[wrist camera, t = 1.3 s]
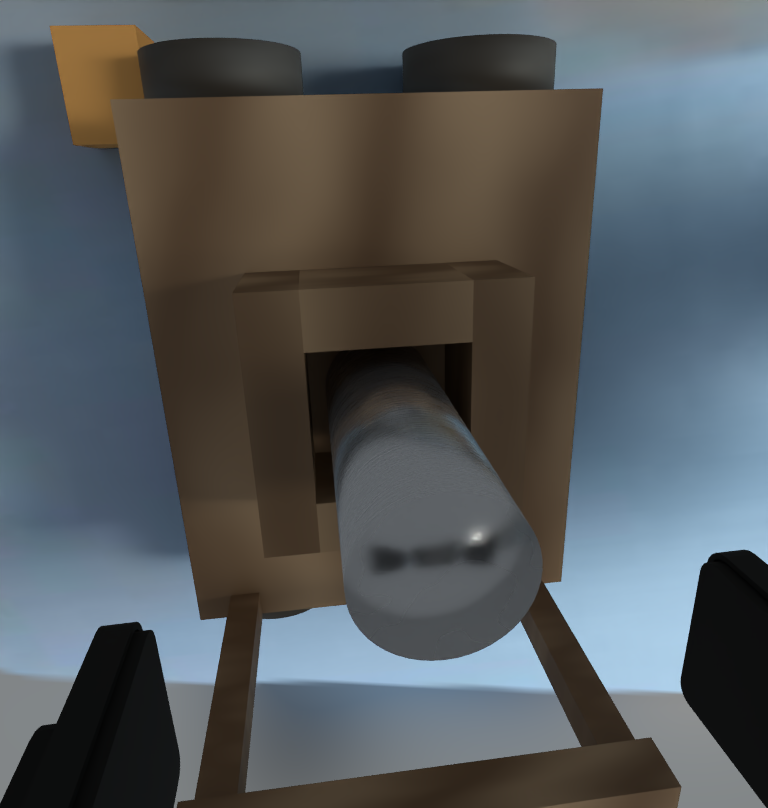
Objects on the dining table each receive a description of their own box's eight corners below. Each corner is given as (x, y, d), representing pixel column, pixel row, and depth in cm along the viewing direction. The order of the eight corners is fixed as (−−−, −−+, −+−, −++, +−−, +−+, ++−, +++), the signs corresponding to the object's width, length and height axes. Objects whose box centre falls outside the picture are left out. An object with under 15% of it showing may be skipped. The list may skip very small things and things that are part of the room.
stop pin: (429, 331, 23) (548, 482, 12) (429, 429, 24) (536, 649, 13) (321, 338, 22) (338, 501, 11) (328, 437, 24) (350, 671, 13)
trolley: (525, 62, 27) (923, -143, 10) (505, 525, 36) (697, 860, 18) (157, 68, 26) (-164, -165, 8) (228, 551, 34) (147, 947, 17)
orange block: (153, 41, 25) (134, 24, 22) (169, 146, 27) (153, 142, 24) (78, 42, 25) (49, 25, 22) (97, 148, 26) (73, 145, 24)
